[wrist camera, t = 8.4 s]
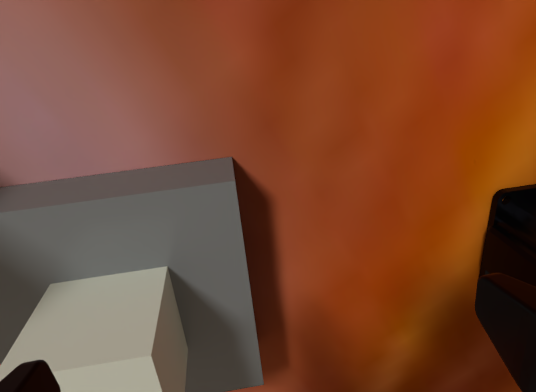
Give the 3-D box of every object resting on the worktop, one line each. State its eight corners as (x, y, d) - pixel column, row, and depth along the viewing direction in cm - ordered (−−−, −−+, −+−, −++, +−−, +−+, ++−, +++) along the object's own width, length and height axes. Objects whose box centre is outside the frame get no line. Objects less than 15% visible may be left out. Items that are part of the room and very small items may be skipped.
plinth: (231, 157, 18) (234, 180, 16) (258, 342, 24) (263, 384, 21) (-32, 191, 18) (-76, 223, 15) (55, 377, 23) (33, 425, 20)
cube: (167, 266, 17) (150, 355, 13) (187, 349, 19) (180, 450, 15) (50, 283, 17) (-11, 382, 12) (84, 366, 19) (44, 476, 14)
